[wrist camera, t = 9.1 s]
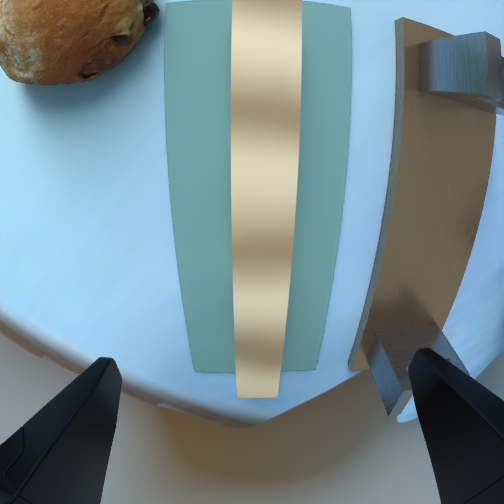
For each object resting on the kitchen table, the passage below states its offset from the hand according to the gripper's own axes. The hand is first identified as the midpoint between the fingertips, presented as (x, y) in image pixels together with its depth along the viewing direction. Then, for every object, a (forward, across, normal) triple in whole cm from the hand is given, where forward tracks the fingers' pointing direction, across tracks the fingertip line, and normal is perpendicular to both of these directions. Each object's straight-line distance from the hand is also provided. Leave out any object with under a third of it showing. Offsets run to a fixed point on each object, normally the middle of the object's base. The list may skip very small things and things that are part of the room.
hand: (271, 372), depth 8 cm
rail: (+11, 0, 0) cm, 11 cm away
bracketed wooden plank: (+11, -12, 0) cm, 17 cm away
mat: (+11, 0, 0) cm, 11 cm away
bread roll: (+12, +10, -14) cm, 21 cm away
